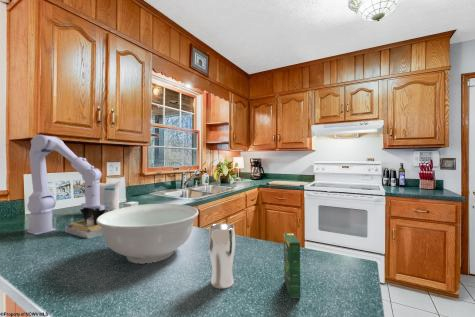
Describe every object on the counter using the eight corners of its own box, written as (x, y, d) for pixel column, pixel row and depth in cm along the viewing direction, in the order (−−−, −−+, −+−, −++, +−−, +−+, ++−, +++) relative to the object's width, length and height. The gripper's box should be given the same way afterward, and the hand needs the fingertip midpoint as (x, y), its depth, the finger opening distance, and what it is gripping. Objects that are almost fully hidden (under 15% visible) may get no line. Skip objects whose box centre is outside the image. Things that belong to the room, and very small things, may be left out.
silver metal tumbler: (209, 276, 67) (209, 223, 67) (234, 275, 67) (234, 222, 67) (208, 290, 60) (208, 230, 60) (236, 289, 60) (236, 229, 60)
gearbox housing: (65, 232, 108) (65, 223, 108) (98, 224, 121) (98, 216, 121) (87, 238, 99) (87, 229, 99) (120, 229, 112) (120, 220, 112)
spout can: (84, 231, 109) (84, 216, 110) (93, 229, 113) (93, 214, 113) (89, 232, 107) (89, 217, 107) (98, 230, 111) (98, 215, 111)
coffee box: (283, 280, 64) (283, 232, 64) (294, 280, 64) (293, 232, 64) (288, 298, 56) (288, 242, 56) (301, 298, 56) (300, 242, 56)
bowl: (174, 282, 64) (173, 227, 64) (70, 272, 70) (70, 222, 70) (209, 241, 96) (209, 204, 96) (136, 236, 102) (136, 202, 101)
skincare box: (131, 229, 112) (130, 203, 112) (123, 228, 113) (122, 203, 113) (138, 225, 118) (138, 201, 118) (131, 225, 119) (131, 201, 119)
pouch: (112, 217, 135) (112, 182, 135) (88, 214, 142) (88, 181, 142) (124, 214, 142) (123, 180, 142) (100, 212, 149) (100, 180, 149)
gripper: (74, 195, 110) (74, 224, 110) (93, 197, 104) (93, 228, 104) (89, 193, 117) (89, 220, 117) (108, 195, 110) (109, 224, 110)
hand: (92, 224), depth 111 cm, fingers open, 6 cm apart
